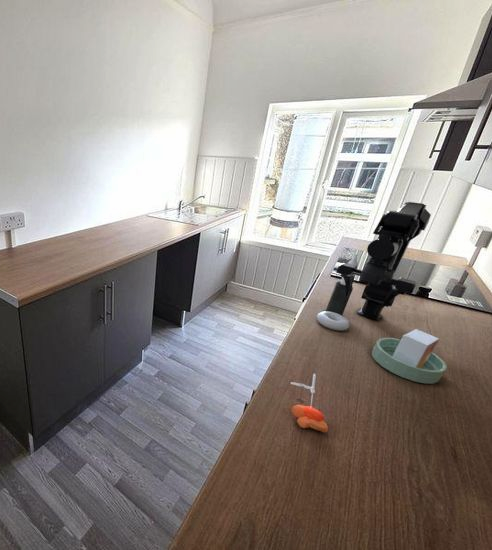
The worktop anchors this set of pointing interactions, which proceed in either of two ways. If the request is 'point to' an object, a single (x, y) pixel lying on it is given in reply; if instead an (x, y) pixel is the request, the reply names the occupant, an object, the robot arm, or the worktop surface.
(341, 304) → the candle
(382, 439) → the worktop surface
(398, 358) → the small box
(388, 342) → the bowl
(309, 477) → the worktop surface
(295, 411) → the orange lobed stemmed ornament
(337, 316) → the donut
